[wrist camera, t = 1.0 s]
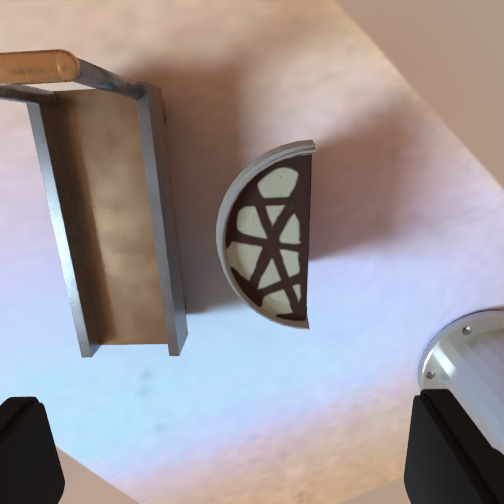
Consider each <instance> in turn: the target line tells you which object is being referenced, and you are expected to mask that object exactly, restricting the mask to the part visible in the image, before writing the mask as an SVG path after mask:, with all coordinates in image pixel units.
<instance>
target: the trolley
mask: <svg viewBox="0 0 504 504" xmlns="http://www.w3.org/2000/svg"><path fill="white" fill-rule="evenodd" d="M71 81H73V82H76V83H80V84H83V85H86V86H90V87H93V88H96V89H88V90H69V91H48V90H44V89H39V88H35V87H30V86H26V85H22V84H40V83H58V82H71ZM0 99H3V100H10V101H16V102H23V103H26V104H27V108H28V113H29V117H30V122H31V127H32V131H33V136H34V140H35V145H36V149H37V154H38V159H39V163H40V168H41V172H42V177H43V181H44V186H45V191H46V195H47V200H48V204H49V209H50V213H51V218H52V223H53V227H54V232H55V236H56V241H57V245H58V250H59V255H60V259H61V264H62V268H63V273H64V277H65V282H66V287H67V291H68V296H69V300H70V305H71V309H72V314H73V319H74V323H75V328H76V332H77V337H78V341H79V346H80V351H81V355H82V357H92V356H93V355H94V354H95V352H96V351H97V350H98V349H99V347H100V346H101V345H128V344H168V349H169V356H179V355H180V353H181V350H182V348H183V345H184V343H185V340H186V338H187V335H188V330H187V321H186V302H185V298H184V294H183V285H182V276H181V267H180V258H179V249H178V240H177V231H176V222H175V213H174V204H173V195H172V186H171V177H170V168H169V159H168V150H167V141H166V132H165V111H164V106H163V102H162V96H161V89H160V88H158V87H156V86H154V85H151V84H149V83H147V82H133V81H131V80H128V79H126V78H124V77H121V76H119V75H117V74H114V73H112V72H110V71H107V70H105V69H103V68H100V67H98V66H96V65H93V64H91V63H89V62H86V61H84V60H82V59H79V58H77V57H76V56H75V55H74V54H72V53H71V52H69V51H67V50H63V49H57V50H40V51H23V52H7V53H0Z"/></svg>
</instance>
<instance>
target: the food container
mask: <svg viewBox="0 0 504 504" xmlns="http://www.w3.org/2000/svg"><path fill="white" fill-rule="evenodd" d="M315 152H316V149H315V144H314V142H313V140H305V141H297V142H293V143H289V144H285V145H281V146H279V147H277V148H275V149H272V150H270V151H268V152H266V153H264V154H263V155H261V156H260V157H258V158H257V159H255V160H254V161H252V162H251V163H250V164H249V165H248V166H247V167H246V168H245V169H243V170H242V171H241V173H240V174H239V175H238V176H237V177H236V179H235V180H234V181H233V182H232V184H231V186H230V187H229V189H228V191H227V193H226V194H225V196H224V199H223V201H222V204H221V207H220V209H219V214H218V219H217V224H216V243H217V251H218V255H219V258H220V262H221V265H222V269H223V272H224V274H225V276H226V278H227V280H228V282H229V284H230V285H231V287H232V288H233V290H234V291H235V293H236V294H237V295H238V296H239V297H240V298H241V299H242V300H243V301H244V303H245V304H246V305H248V306H249V307H250V308H252V309H253V310H254V311H256V312H257V313H258V314H260V315H261V316H263V317H265V318H267V319H269V320H271V321H273V322H276V323H278V324H281V325H284V326H288V327H292V328H297V329H309V323H308V318H307V277H308V255H309V222H310V195H311V162H312V154H313V153H315Z"/></svg>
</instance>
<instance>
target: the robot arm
mask: <svg viewBox="0 0 504 504" xmlns="http://www.w3.org/2000/svg"><path fill="white" fill-rule="evenodd" d="M418 381H419V385H420V389H421V393H420V395H416V396H415V397H414V400H413V408H412V416H411V424H410V432H409V440H408V448H407V456H406V464H405V472H404V483H405V488H406V492H407V494H408V497H409V499H410V502H411V504H504V311H484V312H479V313H474V314H471V315H468V316H466V317H463V318H460V319H459V320H457V321H455V322H453V323H451V324H449V325H448V326H447V327H445V328H444V329H443V330H441V331H440V332H439V333H438V334H437V335H436V336H435V337H434V338H433V339H432V340H431V341H430V343H429V344H428V346H427V348H426V349H425V351H424V353H423V355H422V358H421V360H420V363H419V369H418ZM64 486H65V480H64V476H63V472H62V468H61V465H60V461H59V457H58V454H57V451H56V447H55V443H54V439H53V436H52V432H51V429H50V425H49V421H48V418H47V414H46V411H45V407H44V405H43V404H42V403H39V401H38V399H37V398H36V397H10V398H8V399H7V400H5V401H4V402H3V403H2V404H1V405H0V504H58V502H59V501H60V499H61V497H62V494H63V491H64Z"/></svg>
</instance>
